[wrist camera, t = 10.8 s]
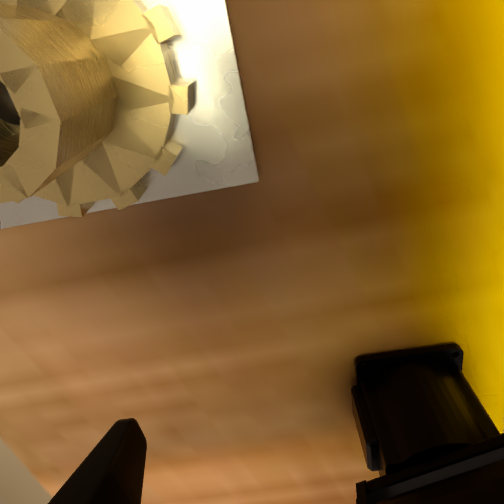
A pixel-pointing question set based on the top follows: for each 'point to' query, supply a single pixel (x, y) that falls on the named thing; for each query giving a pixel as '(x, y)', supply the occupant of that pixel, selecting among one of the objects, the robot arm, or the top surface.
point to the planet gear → (87, 100)
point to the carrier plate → (182, 117)
